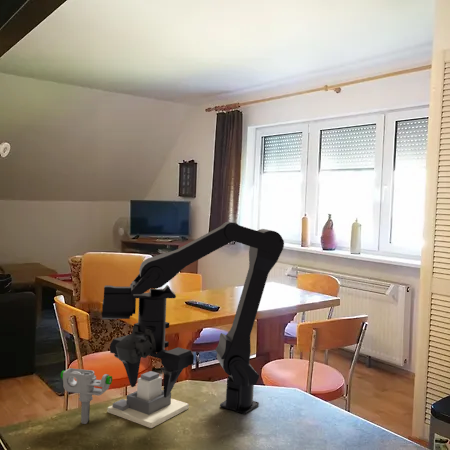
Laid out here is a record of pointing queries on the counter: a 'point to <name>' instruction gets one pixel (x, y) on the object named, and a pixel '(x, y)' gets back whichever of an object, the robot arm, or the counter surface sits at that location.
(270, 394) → the counter surface
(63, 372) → the mechanical component
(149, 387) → the plug
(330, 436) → the counter surface
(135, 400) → the board
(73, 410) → the counter surface
